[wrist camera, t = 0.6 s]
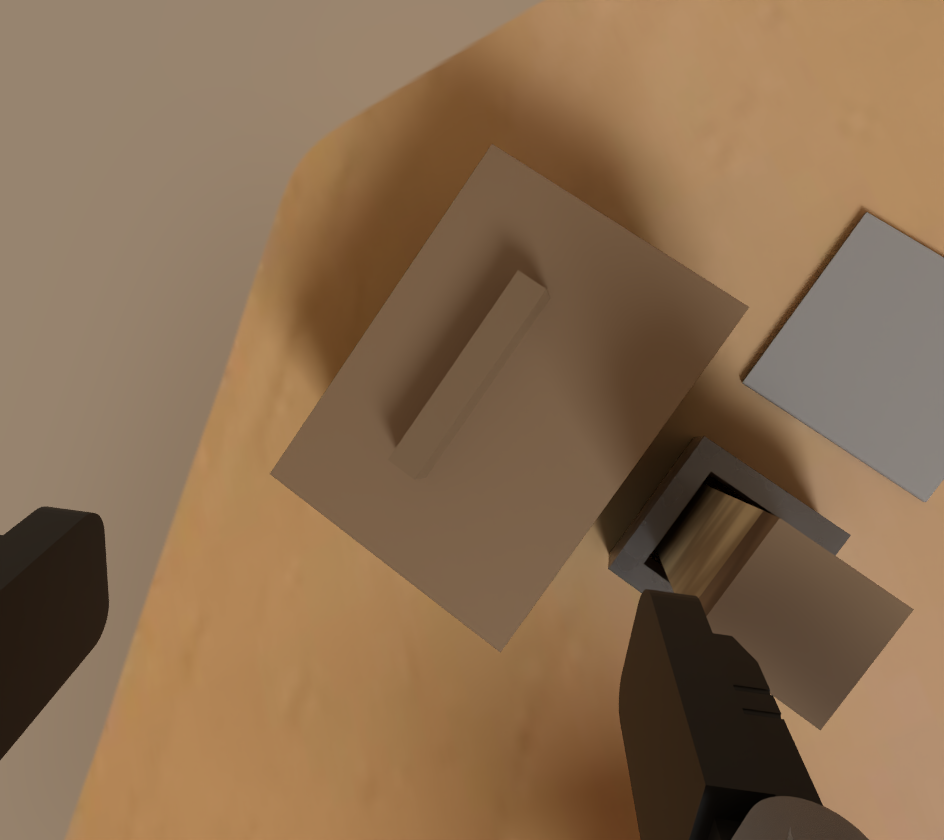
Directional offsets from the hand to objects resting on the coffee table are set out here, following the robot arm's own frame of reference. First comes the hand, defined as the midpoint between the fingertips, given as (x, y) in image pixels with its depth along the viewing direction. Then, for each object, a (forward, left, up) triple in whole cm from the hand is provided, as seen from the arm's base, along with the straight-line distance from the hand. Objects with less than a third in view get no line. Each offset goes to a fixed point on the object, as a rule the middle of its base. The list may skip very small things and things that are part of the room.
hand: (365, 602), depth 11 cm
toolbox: (-3, -3, -25) cm, 25 cm away
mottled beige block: (-3, +8, -25) cm, 26 cm away
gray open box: (-3, +8, -25) cm, 26 cm away
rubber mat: (-14, +9, -25) cm, 30 cm away
